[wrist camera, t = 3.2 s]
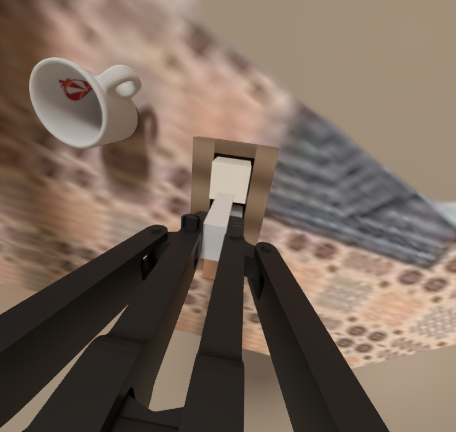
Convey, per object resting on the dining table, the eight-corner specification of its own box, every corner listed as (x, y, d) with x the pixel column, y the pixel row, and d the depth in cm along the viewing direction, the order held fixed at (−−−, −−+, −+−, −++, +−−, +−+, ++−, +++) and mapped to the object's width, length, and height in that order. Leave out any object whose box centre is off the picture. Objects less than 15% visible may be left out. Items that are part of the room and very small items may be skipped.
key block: (199, 136, 25) (193, 136, 23) (276, 147, 25) (279, 149, 22) (193, 255, 35) (188, 266, 32) (249, 264, 34) (249, 276, 32)
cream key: (218, 156, 24) (212, 161, 20) (250, 161, 24) (251, 167, 20) (215, 187, 26) (209, 198, 22) (245, 192, 26) (244, 203, 22)
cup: (133, 49, 22) (77, 8, 15) (172, 113, 24) (142, 105, 17) (79, 103, 25) (12, 91, 18) (119, 154, 28) (74, 162, 20)
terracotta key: (210, 237, 30) (204, 254, 26) (236, 241, 29) (234, 259, 25) (208, 258, 31) (202, 277, 27) (232, 262, 31) (230, 281, 27)
